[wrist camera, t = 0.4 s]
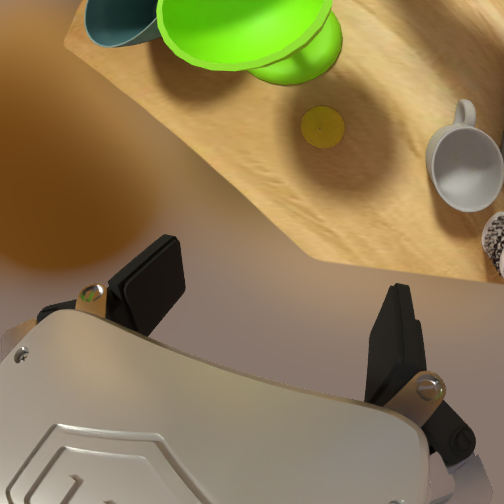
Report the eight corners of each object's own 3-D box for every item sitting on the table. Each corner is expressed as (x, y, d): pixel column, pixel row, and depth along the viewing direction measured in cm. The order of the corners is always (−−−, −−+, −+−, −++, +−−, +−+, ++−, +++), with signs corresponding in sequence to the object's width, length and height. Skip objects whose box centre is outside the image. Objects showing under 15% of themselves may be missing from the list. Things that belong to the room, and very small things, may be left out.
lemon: (353, 127, 33) (354, 132, 27) (325, 151, 36) (319, 162, 30) (325, 98, 32) (319, 95, 26) (297, 123, 35) (285, 127, 29)
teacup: (470, 201, 31) (491, 223, 25) (411, 182, 34) (423, 200, 27) (489, 116, 24) (515, 121, 17) (426, 90, 26) (444, 87, 20)
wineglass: (281, -25, 23) (234, -85, 9) (366, 38, 26) (376, -11, 11) (211, 42, 32) (130, 21, 18) (285, 106, 35) (237, 108, 20)
